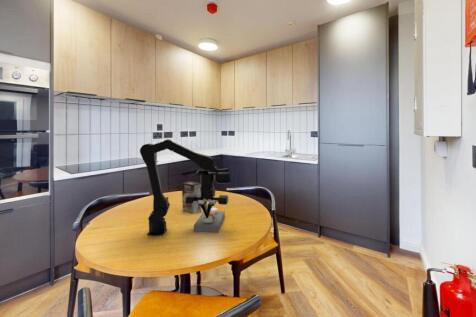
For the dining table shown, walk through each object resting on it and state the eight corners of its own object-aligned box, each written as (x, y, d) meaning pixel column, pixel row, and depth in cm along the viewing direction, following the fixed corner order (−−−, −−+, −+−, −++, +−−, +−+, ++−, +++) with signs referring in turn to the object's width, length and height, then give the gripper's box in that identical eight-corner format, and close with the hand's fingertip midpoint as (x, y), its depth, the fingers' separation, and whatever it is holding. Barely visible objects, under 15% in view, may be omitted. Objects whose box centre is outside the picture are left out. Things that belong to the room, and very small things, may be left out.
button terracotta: (205, 218, 119) (204, 214, 119) (206, 214, 124) (206, 211, 123) (214, 218, 119) (214, 214, 119) (215, 215, 123) (215, 211, 123)
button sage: (201, 223, 113) (201, 219, 113) (204, 219, 117) (203, 215, 117) (211, 223, 112) (211, 219, 112) (213, 219, 117) (213, 216, 117)
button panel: (193, 232, 112) (193, 225, 112) (204, 216, 132) (203, 210, 132) (218, 232, 111) (218, 225, 111) (224, 217, 131) (224, 211, 131)
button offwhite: (207, 213, 126) (207, 210, 125) (209, 210, 130) (209, 207, 130) (216, 213, 125) (216, 210, 125) (218, 211, 130) (218, 207, 129)
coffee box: (181, 211, 142) (181, 183, 140) (189, 208, 147) (189, 181, 145) (194, 213, 137) (193, 184, 135) (201, 210, 142) (201, 182, 140)
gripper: (229, 180, 120) (229, 212, 122) (191, 180, 122) (192, 211, 123) (226, 186, 109) (226, 220, 111) (184, 185, 111) (185, 219, 112)
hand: (207, 217), depth 115 cm, fingers closed, pressing on button sage
